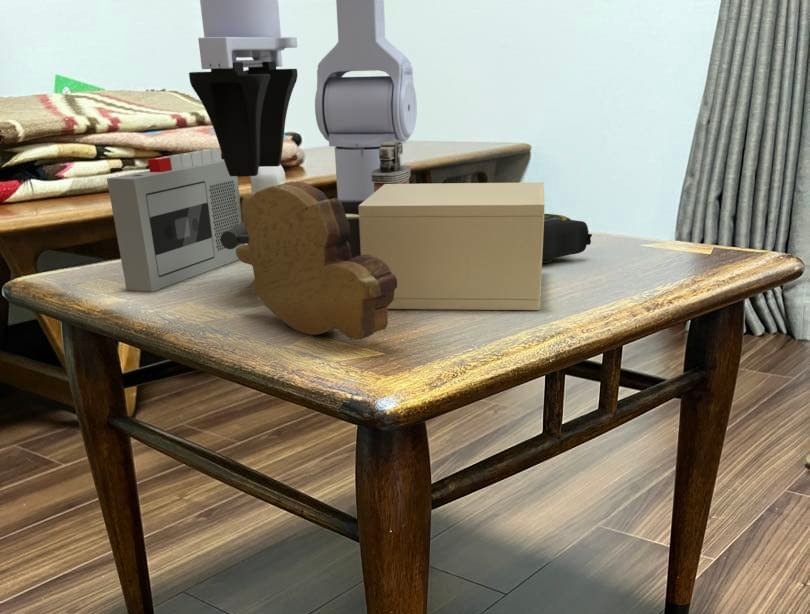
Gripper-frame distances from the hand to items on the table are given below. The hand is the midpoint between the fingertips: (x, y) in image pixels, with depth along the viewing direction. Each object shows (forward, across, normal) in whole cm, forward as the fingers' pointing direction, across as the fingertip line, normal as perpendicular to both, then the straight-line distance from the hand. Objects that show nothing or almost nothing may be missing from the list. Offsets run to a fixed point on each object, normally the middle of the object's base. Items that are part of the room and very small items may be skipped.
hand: (256, 170), depth 70 cm
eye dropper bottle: (+10, +16, +4) cm, 19 cm away
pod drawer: (+9, 0, -6) cm, 10 cm away
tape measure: (+10, +12, -24) cm, 28 cm away
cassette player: (+10, +7, +9) cm, 15 cm away
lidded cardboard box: (+9, 0, -16) cm, 19 cm away
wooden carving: (+10, -13, -7) cm, 17 cm away
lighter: (+10, +18, -8) cm, 22 cm away
